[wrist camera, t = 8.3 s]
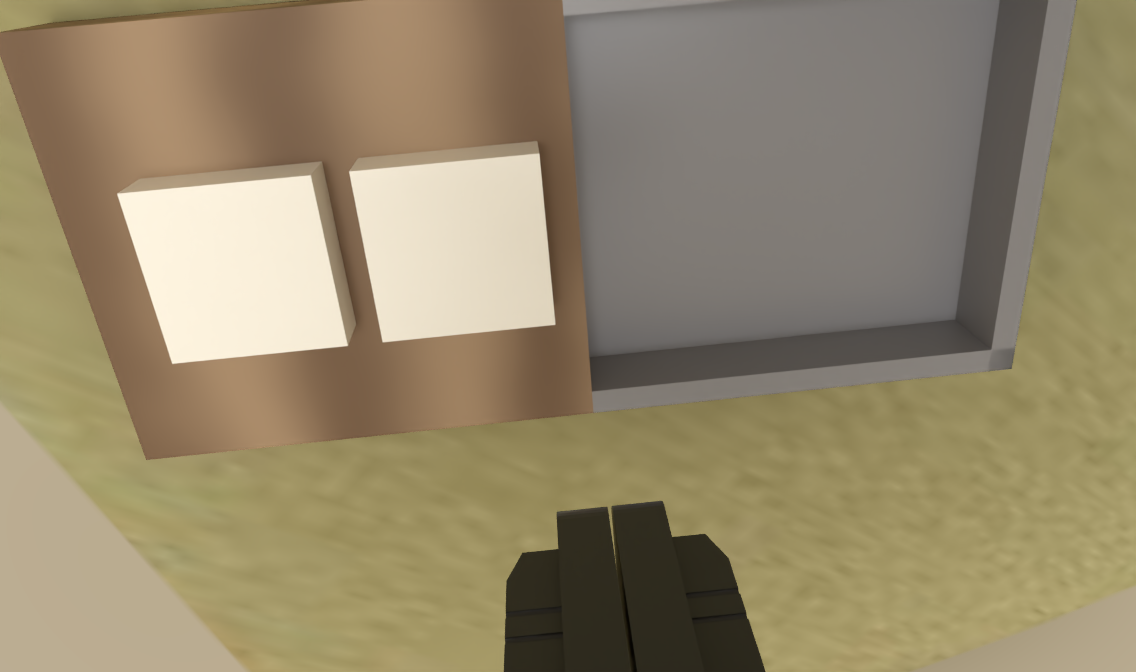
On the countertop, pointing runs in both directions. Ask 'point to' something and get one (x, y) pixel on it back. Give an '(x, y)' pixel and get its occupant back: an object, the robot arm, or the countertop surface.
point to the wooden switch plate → (337, 138)
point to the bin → (806, 188)
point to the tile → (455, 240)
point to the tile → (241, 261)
